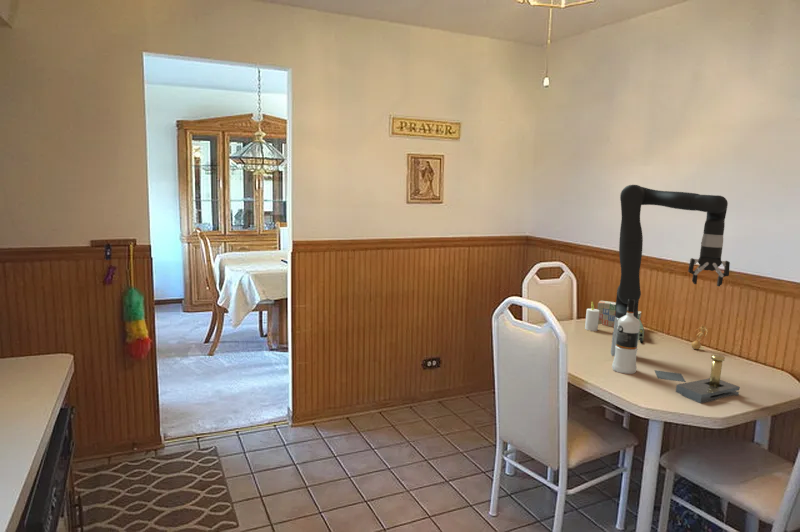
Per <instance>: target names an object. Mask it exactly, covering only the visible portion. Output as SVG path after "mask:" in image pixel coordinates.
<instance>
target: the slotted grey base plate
mask: <svg viewBox="0 0 800 532" xmlns="http://www.w3.org/2000/svg"><path fill="white" fill-rule="evenodd" d="M709 383H710V377H709V378H705V379H700V380H695V381H688V382H682V383H678V384H676V387H675V388H676V389H675V393H677V394H680V395H681V396H682V397H685V398H687V399H689V400H691V401H694V402H696V403H699V404H703V403H708V402H712V401H713V402H714V401H717V400H719V399H722V398H727V397H732V396H739V394H740V386H738V385H735V384H733V383H730V382H727V381H726V380H725V381H724V380H722V379H720V384H719V387H718V388H715V387H713V386H710V385H709Z"/></svg>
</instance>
